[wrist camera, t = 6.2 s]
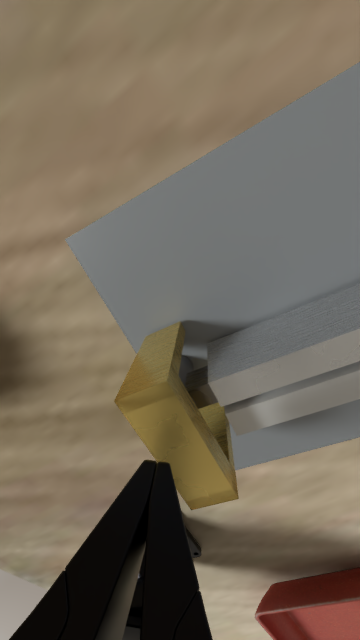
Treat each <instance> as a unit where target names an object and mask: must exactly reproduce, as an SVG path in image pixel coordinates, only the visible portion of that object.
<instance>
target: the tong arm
mask: <svg viewBox="0 0 360 640" xmlns="http://www.w3.org/2000/svg"><path fill="white" fill-rule="evenodd" d="M207 358H208V365H207V366H204V367H202V368H199V369H197V370H194V371H191V372H189V373H187V376H186V385H185V388H186V389H187V391H188V393H189V394H190V396H191V398H192V400H193V401H194V403H195V405H196V406H197V408H198V409H200V408H203V407H206V406H209V405H212V404H215V403H218V402H219V404H220V406H221V407H223V406H226V405H229V404H232V403H235V402H238V401H241V400H244V399H247V398H250V397H253V396H256V395H259V394H262V393H265V392H268V391H271V390H274V389H277V388H280V387H283V386H286V385H289V384H292V383H295V382H298V381H301V380H304V379H307V378H310V377H313V376H316V375H319V374H322V373H326V372H329V371H332V370H335V369H338V368H341V367H344V366H347V365H350V364H353V363H356V362H359V361H360V283H357V284H355V285H352V286H350V287H347V288H345V289H342V290H340V291H337V292H335V293H332V294H330V295H327V296H325V297H322V298H320V299H317V300H315V301H312V302H310V303H307V304H305V305H302V306H300V307H297V308H295V309H292V310H290V311H287V312H285V313H282V314H280V315H277V316H275V317H272V318H270V319H267V320H265V321H262V322H260V323H257V324H255V325H252V326H250V327H247V328H245V329H242V330H240V331H237V332H235V333H232V334H230V335H227V336H225V337H222V338H220V339H217V340H215V341H212V342H210V343H207Z"/></svg>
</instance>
